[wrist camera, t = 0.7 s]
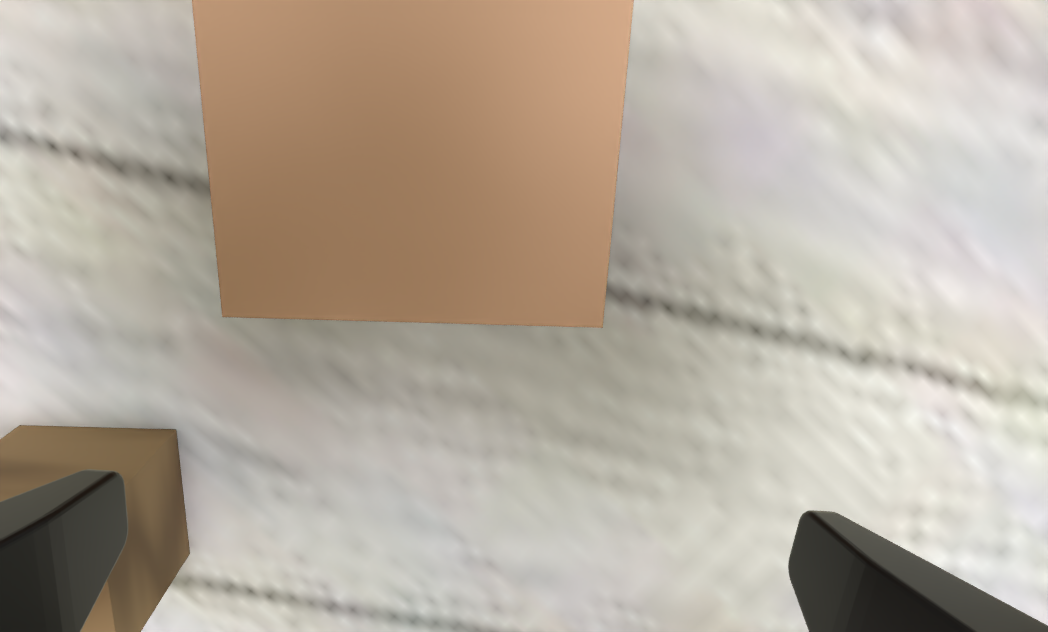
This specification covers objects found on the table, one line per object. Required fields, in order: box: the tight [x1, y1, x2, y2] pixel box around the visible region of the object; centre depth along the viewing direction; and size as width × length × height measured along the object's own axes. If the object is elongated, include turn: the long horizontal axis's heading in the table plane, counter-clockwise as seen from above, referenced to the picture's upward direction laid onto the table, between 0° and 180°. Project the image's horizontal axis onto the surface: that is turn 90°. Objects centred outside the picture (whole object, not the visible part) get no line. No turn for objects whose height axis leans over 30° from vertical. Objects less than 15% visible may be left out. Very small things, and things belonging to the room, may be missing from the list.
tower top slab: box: [192, 0, 634, 328], centre depth 16 cm, size 9×9×3 cm
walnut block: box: [0, 425, 190, 632], centre depth 21 cm, size 5×5×5 cm
